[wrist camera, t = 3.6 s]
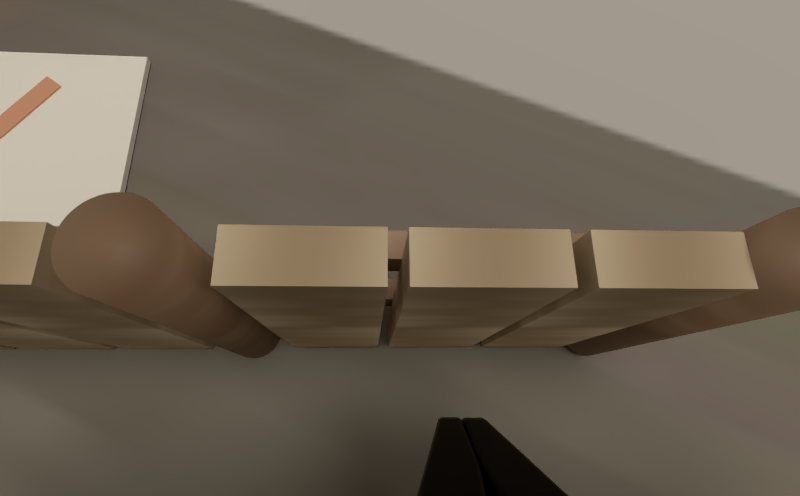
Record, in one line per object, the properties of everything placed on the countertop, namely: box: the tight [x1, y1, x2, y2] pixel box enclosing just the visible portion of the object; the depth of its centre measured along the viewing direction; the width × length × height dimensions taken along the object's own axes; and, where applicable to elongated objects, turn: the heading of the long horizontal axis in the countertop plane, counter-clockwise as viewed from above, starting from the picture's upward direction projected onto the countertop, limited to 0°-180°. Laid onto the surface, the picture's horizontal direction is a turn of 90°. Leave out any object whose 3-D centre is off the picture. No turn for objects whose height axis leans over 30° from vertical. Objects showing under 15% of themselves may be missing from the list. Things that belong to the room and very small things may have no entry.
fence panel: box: [210, 208, 800, 355], centre depth 11 cm, size 11×2×8 cm, turn 91°
